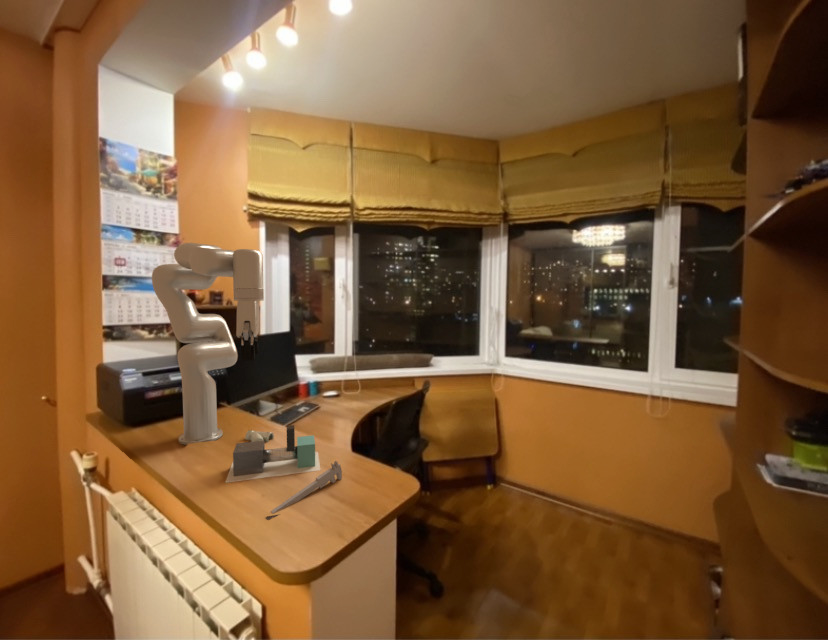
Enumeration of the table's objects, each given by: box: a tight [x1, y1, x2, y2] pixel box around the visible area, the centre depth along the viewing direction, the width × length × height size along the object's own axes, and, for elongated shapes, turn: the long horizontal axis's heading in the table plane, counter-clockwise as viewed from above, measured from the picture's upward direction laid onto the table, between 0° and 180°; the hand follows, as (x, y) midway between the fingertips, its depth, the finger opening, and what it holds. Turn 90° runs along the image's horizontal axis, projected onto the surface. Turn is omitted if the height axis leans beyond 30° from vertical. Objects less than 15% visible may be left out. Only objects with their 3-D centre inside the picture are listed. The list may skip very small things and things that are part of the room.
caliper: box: [265, 460, 343, 521], centre depth 87 cm, size 20×1×6 cm, turn 142°
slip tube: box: [263, 424, 298, 463], centre depth 102 cm, size 3×14×9 cm, turn 108°
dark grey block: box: [232, 441, 266, 476], centre depth 99 cm, size 6×7×6 cm
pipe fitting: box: [245, 429, 275, 443], centre depth 118 cm, size 8×4×7 cm
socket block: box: [296, 434, 316, 468], centre depth 104 cm, size 6×5×6 cm
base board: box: [225, 451, 321, 483], centre depth 101 cm, size 12×23×1 cm, turn 108°
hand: (250, 357), depth 103 cm, fingers open, 9 cm apart
